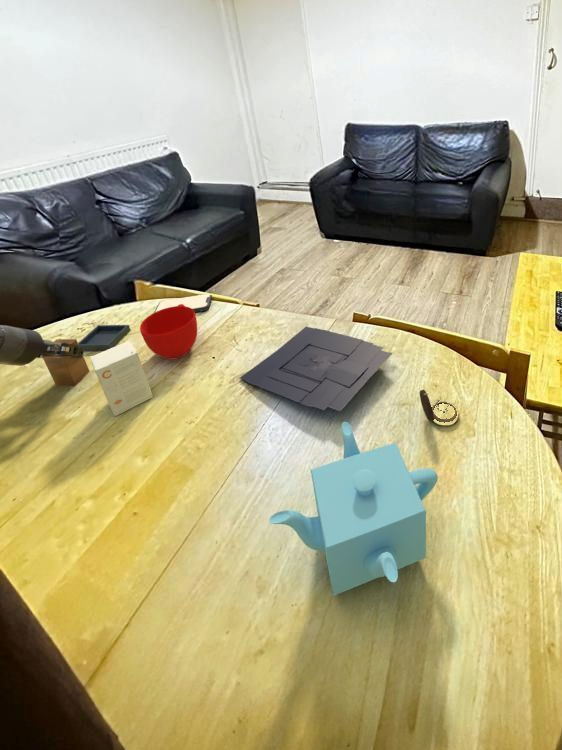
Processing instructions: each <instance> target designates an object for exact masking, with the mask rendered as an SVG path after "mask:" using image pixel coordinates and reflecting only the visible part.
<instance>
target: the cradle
mask: <svg viewBox="0 0 562 750" xmlns="http://www.w3.org/2000/svg"><path fill="white" fill-rule="evenodd" d="M130 331H131V327H130V324H97V326H95V327H94V328H93V329H92V330H90V332H89V333H88V334H86V335H85V336H84V337H83V338H82V339H81V340H79V342H78V345H79V346H80V348H82V349H84V352H103V351H106V350H108V349H111V348H113V347H115V346H118V345H119V344H118V343H120V342H121V341H122V340H123V339H124V338H125V337H126V336H127V334H128V333H130Z"/></svg>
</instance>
